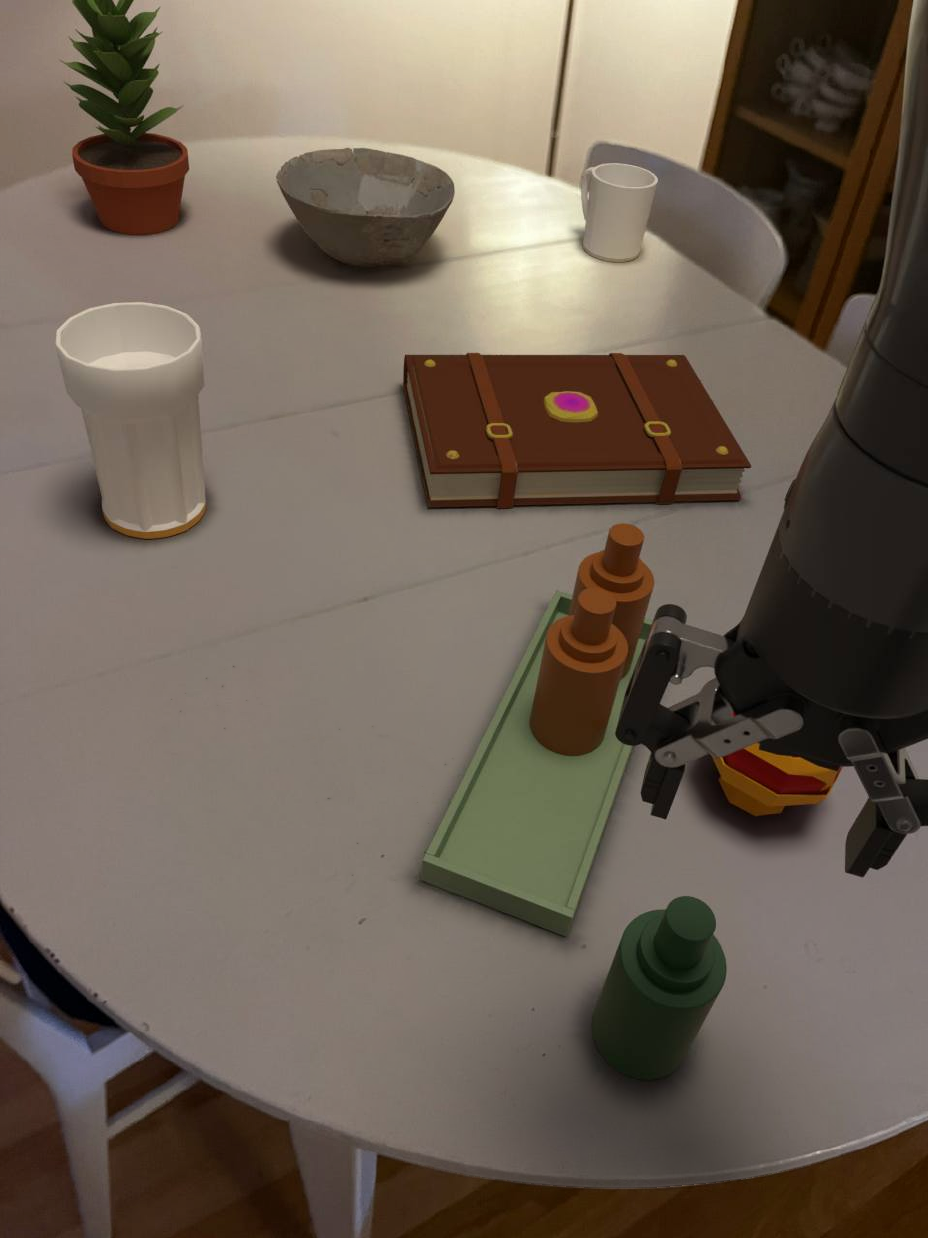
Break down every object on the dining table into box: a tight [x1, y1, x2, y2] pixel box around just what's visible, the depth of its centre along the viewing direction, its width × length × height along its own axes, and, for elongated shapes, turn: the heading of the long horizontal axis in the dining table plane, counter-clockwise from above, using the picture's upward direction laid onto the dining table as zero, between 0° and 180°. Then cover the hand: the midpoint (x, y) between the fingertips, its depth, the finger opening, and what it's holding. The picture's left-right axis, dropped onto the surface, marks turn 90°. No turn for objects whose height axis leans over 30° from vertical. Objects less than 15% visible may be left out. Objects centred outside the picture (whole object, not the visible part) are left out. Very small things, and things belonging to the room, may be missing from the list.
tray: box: [420, 589, 653, 937], centre depth 76 cm, size 29×10×2 cm, turn 159°
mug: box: [580, 162, 659, 263], centre depth 141 cm, size 11×9×10 cm
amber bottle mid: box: [530, 588, 628, 756], centre depth 73 cm, size 6×6×13 cm
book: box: [402, 352, 753, 509], centre depth 106 cm, size 23×32×5 cm
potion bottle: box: [711, 711, 844, 817], centre depth 70 cm, size 10×10×15 cm
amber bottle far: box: [568, 522, 655, 680], centre depth 79 cm, size 6×6×13 cm
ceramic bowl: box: [275, 147, 456, 268], centre depth 132 cm, size 22×23×10 cm
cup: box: [54, 301, 207, 540], centre depth 87 cm, size 11×11×17 cm
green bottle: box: [591, 895, 728, 1081], centre depth 57 cm, size 6×6×13 cm
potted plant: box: [57, 0, 190, 236], centre depth 128 cm, size 15×15×30 cm
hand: (756, 830), depth 45 cm, fingers open, 8 cm apart
